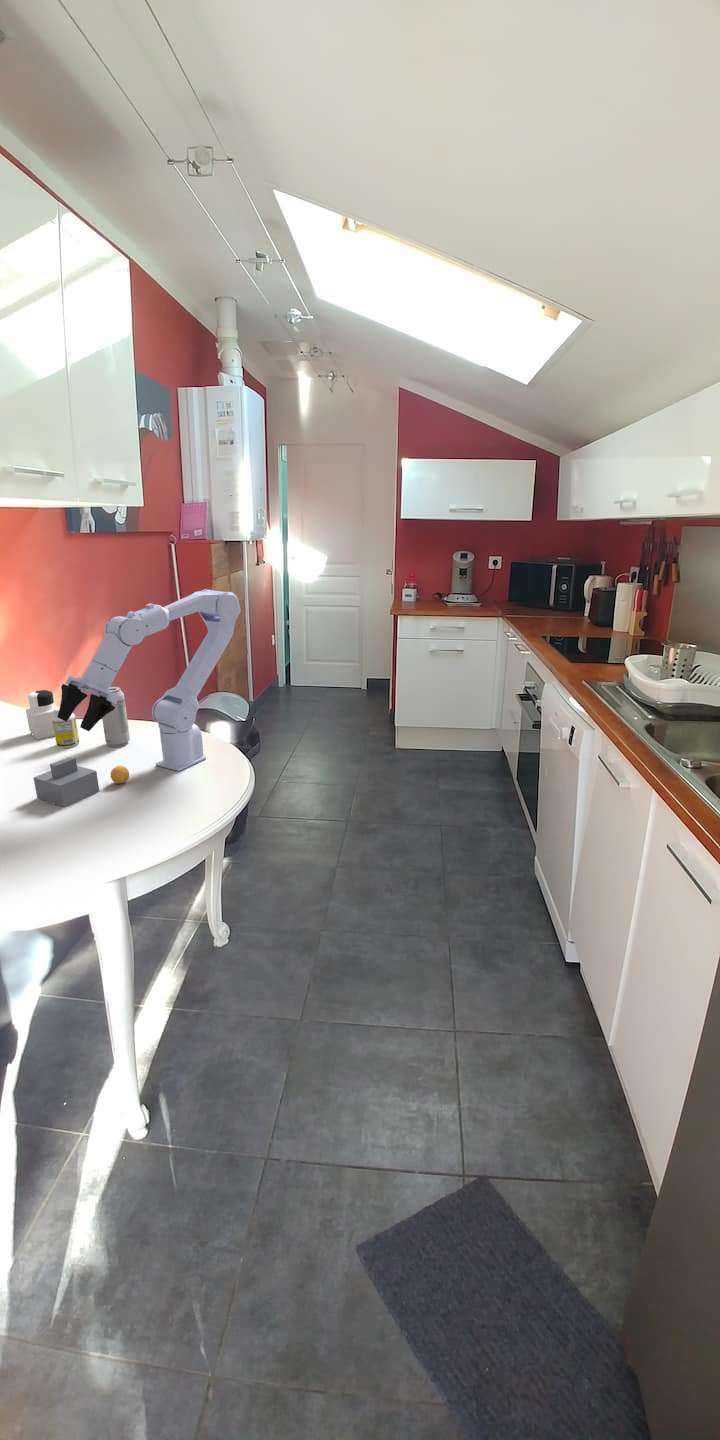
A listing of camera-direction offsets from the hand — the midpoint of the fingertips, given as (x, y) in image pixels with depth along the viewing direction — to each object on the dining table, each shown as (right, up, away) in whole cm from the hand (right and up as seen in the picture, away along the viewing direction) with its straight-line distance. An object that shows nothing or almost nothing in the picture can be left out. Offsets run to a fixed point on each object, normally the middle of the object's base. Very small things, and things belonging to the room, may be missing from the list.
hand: (72, 724), depth 141 cm
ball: (+6, -11, +11) cm, 17 cm away
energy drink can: (-3, -6, +36) cm, 36 cm away
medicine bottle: (-26, -3, +44) cm, 52 cm away
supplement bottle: (-16, -6, +36) cm, 40 cm away
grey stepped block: (-4, -15, +6) cm, 17 cm away
